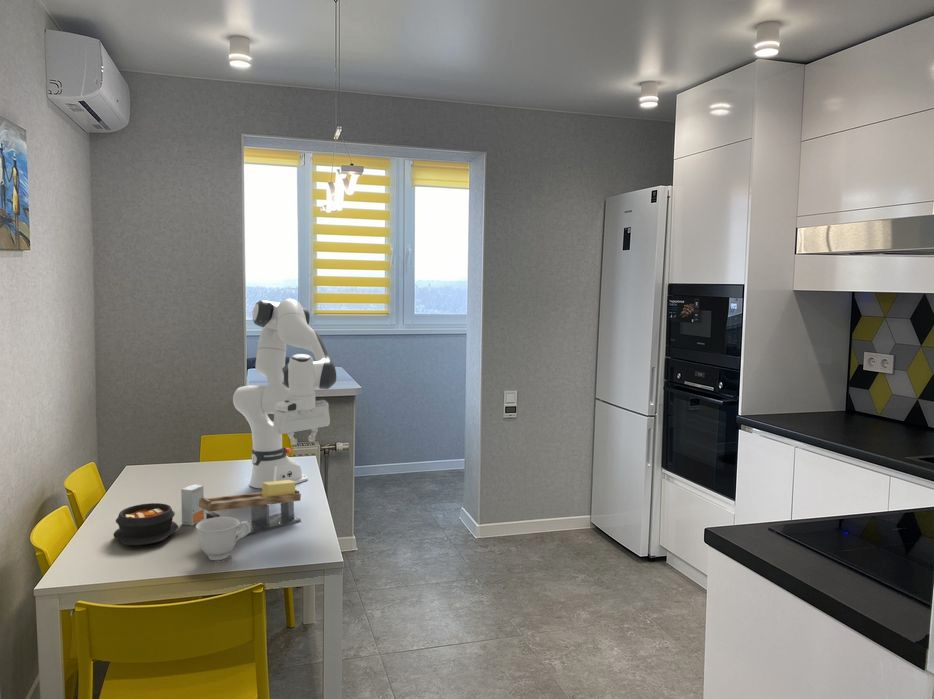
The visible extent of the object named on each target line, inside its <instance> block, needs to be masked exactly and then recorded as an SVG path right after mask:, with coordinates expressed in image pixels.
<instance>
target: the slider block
mask: <svg viewBox="0 0 934 699" xmlns="http://www.w3.org/2000/svg"><path fill="white" fill-rule="evenodd" d="M295 489H296V482H294V481H291V480H283V481H272V482H263V484H262V488H261V492H262V496H263V497H270V496H279V495H287V494H295Z"/></svg>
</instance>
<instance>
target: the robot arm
mask: <svg viewBox="0 0 934 699" xmlns="http://www.w3.org/2000/svg"><path fill="white" fill-rule="evenodd" d="M251 316H252V321H253V323H254V325H256V326H258V327H260V328H262V329H261V332H260V335H259V339H258V343H257V350H256V357H255V358H256V359H255V364H254V365H255V371H256V372H257V373H258V374H259V375H260V376H262V377H264V378H266V379H267V384H266V385H262V384H261V385H258V384H253V385H252V384H251V385H250V384H249V385H244V386H243V385H242V386H240V387H238V388H236V390H235V391H234V393H233V396H232V402H233V407H234V408H235V409H236V410H237V412H239V413H240V414H242V415H243V416H244V417H245V420H246V421H247V422H248V424H249V425H248V426H250V430H251V437H252V449H251V464H252V468H251V469H252V470H251V477H250V481H249V484H248V485H249V486H250V487H252V488H255V489H262V484H263V482H272V481H283V480H291V481H294V482H296V484H299V483H303V482H305V481H308V480H309V478H308V476H307V475H306V474H304V473H303V472H302V468H301V466H300V463H298V462H297V461H296V460H294V459H293V458H291V457H289V456H288V455H287V454H291V453H292V449H291V448H290V447H284V446H283V435H285V434H287V437H288V438H289V440H290V445H292V446H296V445H298V439H297V438H295V436H294V435H295V432H301V431H307V430H311V433H310V435H308V442H311V443H312V442H315V441H316V436H317V433H318V429H319V428H324V427H328V426H329V425H330V424H331V418H330V409H329V406H330V405H329V402H328V401H327V400H325V399H319V400H316V391H315V390H316V389H319V390H329V389H330V388H332V387H333V386H334V385H335V384H336V382H337V369H336V367H335V364H334V363H333V361H332V359H331V357H330V356H329V354H328V351H327V349H326V347H325V344H324V342H323V340H322V337H321V336H320V333H319V332H318V331H317V330H315V329H314V328H312V327H311V326H310V321H311V314H310V312H309V310H308V309H307V308H305V307H303V306H302V304H301V302H299V301H298V300H296V299H293V298H286V299H284V300H282V301H280V302H279V301H272V300H271V301H270V300H267V299H266V300H265V299H261V300H258V301H257V302H256V303H255V304H254V307H253V310H252V315H251ZM287 345H288V346H290V347H293V348H294V347H295V348H301V349H305V350H307V351H309V352H311V353H312V354H313V356H314V358H315V360H314V359H313V357H312V356H311V355H310V354H306V353H296V354H293V355H291V356H290V358H289V361H288V363H286V356H287ZM271 414H272V415H273V421H272V420H271V418H270V417H269V415H271ZM296 484H295V485H296Z"/></svg>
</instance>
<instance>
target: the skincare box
mask: <svg viewBox="0 0 934 699" xmlns="http://www.w3.org/2000/svg"><path fill="white" fill-rule="evenodd" d="M180 490H181V492H180V493H181V495H180V496H181V524H182V525H186V526H193V525H197V524H198V523H199V522H200V521H203V520H205V510H204V509H203V508H201V507H199V499H201V498H202V497H204V496H205V494H204V485H200V484H192V485H188V486H186V487H183V488H181V489H180ZM204 498H205V497H204Z"/></svg>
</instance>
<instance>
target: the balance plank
mask: <svg viewBox="0 0 934 699" xmlns="http://www.w3.org/2000/svg"><path fill="white" fill-rule="evenodd" d="M301 495H302V494H301V493H300V490H299V489H297V488H295V494H287V495H279V496H270V497H263V496H262V491H261V492H251V493H244V494H236V495H234V494H233V495H226V496H217V497H215V496H214V497H207V498H206V497H202V498H201V499H199V507H201V508H203V509H204V511H206V512H212V511H213V512H218V511H219V512H220V511H226V510H234V509H235V510H236V509H242V508H244V509H245V508H251V507H252V506H260V505H269V506H270V505H274V504H275V505H276V504H281V503H285V502H293V501H294V502H300V501H301V497H302V496H301Z"/></svg>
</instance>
